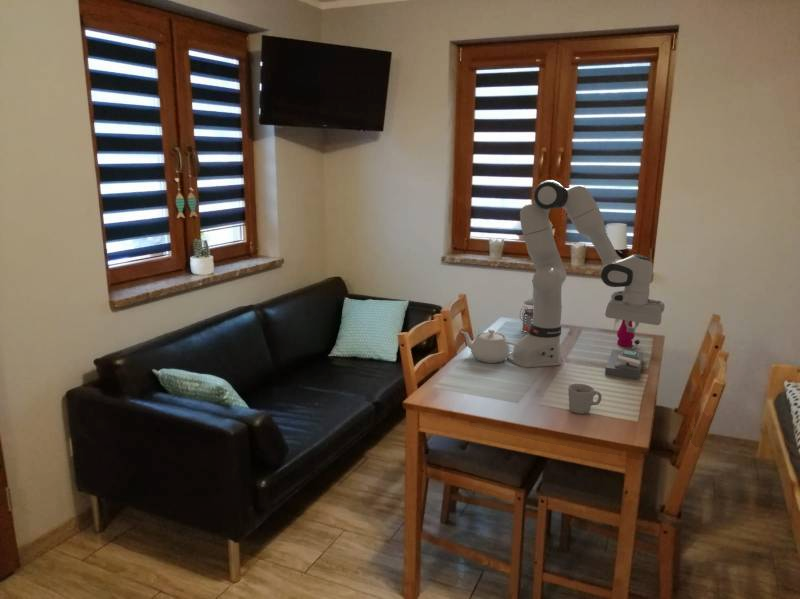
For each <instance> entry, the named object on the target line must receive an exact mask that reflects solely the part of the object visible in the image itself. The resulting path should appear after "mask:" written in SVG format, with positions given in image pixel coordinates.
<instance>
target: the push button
mask: <svg viewBox="0 0 800 599" xmlns="http://www.w3.org/2000/svg"><path fill="white" fill-rule="evenodd" d="M637 352H638V351H631V350H624V355H630V356H636V354H637Z"/></svg>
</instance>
